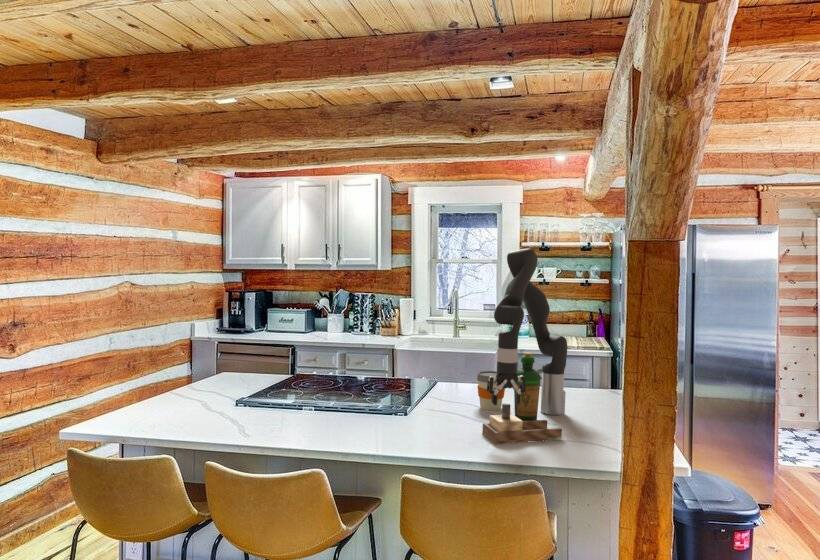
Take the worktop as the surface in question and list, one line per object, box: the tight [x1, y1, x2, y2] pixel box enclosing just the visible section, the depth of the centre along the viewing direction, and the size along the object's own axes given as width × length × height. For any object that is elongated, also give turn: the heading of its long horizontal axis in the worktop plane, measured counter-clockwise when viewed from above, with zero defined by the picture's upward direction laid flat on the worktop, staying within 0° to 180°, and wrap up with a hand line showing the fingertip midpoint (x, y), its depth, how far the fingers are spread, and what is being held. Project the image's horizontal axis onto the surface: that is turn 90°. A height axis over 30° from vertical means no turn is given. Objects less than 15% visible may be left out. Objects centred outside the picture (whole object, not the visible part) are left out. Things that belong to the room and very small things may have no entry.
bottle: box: [513, 351, 542, 421], centre depth 238 cm, size 11×11×28 cm
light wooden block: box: [488, 403, 523, 432], centre depth 218 cm, size 9×9×11 cm
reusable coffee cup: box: [476, 370, 506, 412], centre depth 260 cm, size 13×13×15 cm
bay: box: [482, 419, 563, 445], centre depth 220 cm, size 26×12×4 cm, turn 105°
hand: (505, 404), depth 218 cm, fingers open, 8 cm apart
